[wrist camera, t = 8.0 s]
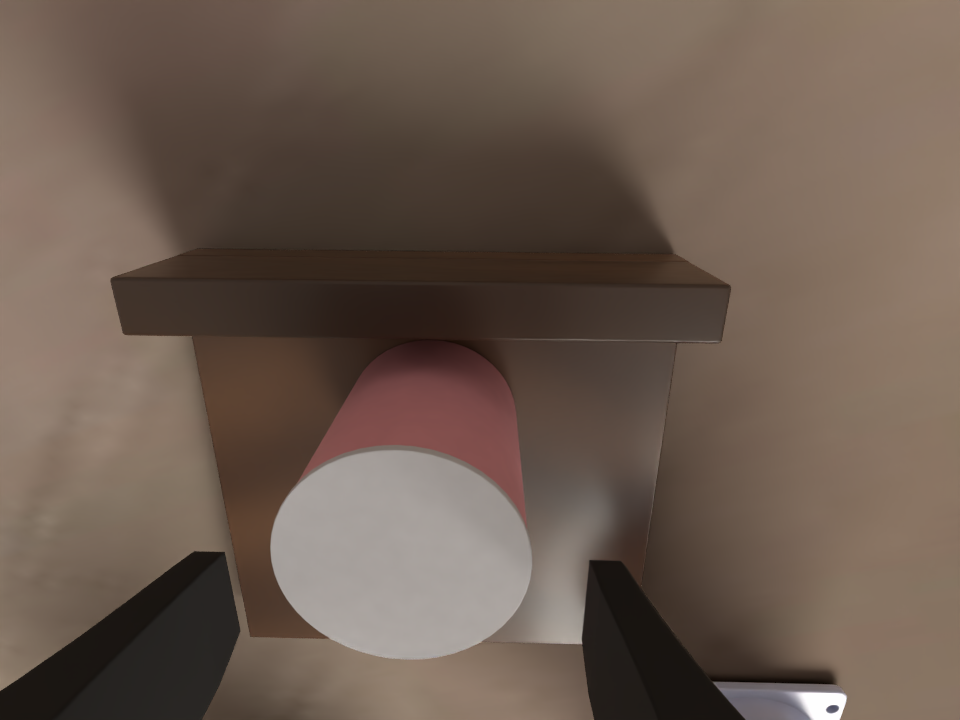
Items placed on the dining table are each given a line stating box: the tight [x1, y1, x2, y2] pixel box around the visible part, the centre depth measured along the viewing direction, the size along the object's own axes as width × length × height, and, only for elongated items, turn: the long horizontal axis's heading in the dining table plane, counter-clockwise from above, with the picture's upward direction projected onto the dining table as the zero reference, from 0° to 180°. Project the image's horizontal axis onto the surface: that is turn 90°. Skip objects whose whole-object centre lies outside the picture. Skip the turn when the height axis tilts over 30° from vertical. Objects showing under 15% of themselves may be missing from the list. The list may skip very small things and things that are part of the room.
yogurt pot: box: [270, 340, 532, 659], centre depth 14 cm, size 6×6×7 cm
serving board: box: [111, 249, 731, 644], centre depth 18 cm, size 15×15×4 cm
